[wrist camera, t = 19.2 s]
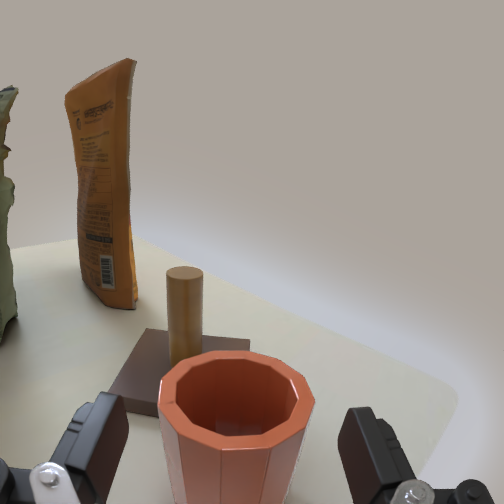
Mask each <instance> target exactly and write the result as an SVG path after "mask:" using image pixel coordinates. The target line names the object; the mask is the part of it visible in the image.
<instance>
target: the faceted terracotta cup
mask: <svg viewBox="0 0 504 504" xmlns="http://www.w3.org/2000/svg"><path fill="white" fill-rule="evenodd" d="M314 405H315V399H314V397H313V395H312V392H311V390H310V388H309V386H308V384H307V382H306V380H305V377H303V375H301V374H300V373H298V372H297V371H295V370H294V369H292V368H291V367H289V366H288V365H286V364H285V363H283V362H282V361H281V360H278V359H276V358H273V357H269V356H265V355H261V354H258V353H254V352H250V351H245V350H242V351H210V352H206V353H203V354H200V355H197V356H194V357H190V358H187V359H184V360H182V361H180V362H179V363H178V364H177V365H175V366H174V367H173V368H172V369H171V370H170V371H169V372H168V373H167V374H166V375H164V376H163V377H162V378H161V381H160V386H159V394H158V402H157V407H158V414H159V421H160V427H161V433H162V439H163V445H164V451H165V456H166V461H167V466H168V471H169V476H170V481H171V486H172V490H173V495H174V499H175V503H176V504H284V503H285V500H286V497H287V494H288V491H289V488H290V485H291V482H292V479H293V476H294V473H295V470H296V467H297V464H298V461H299V457H300V454H301V451H302V448H303V444H304V441H305V437H306V434H307V430H308V427H309V423H310V420H311V416H312V412H313V409H314Z"/></svg>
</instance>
